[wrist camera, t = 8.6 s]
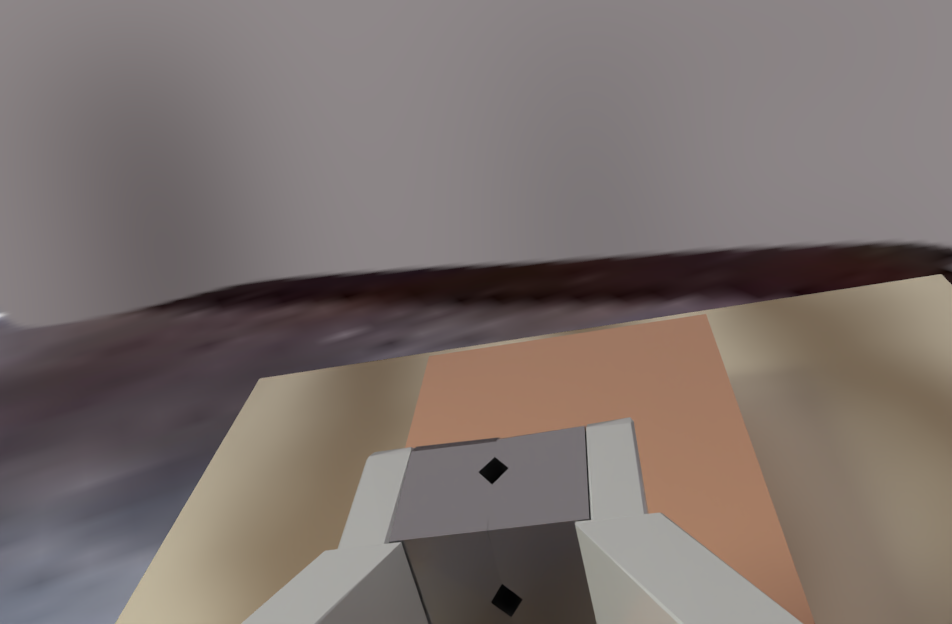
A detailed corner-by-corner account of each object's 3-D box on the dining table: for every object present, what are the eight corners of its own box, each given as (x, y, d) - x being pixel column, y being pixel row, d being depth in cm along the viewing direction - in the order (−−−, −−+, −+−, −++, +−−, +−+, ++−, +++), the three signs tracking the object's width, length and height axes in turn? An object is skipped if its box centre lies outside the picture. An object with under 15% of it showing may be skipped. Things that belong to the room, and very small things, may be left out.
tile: (258, 1003, 9) (429, 355, 22) (334, 1120, 10) (453, 443, 23) (944, 992, 8) (706, 314, 20) (937, 1126, 9) (716, 408, 22)
